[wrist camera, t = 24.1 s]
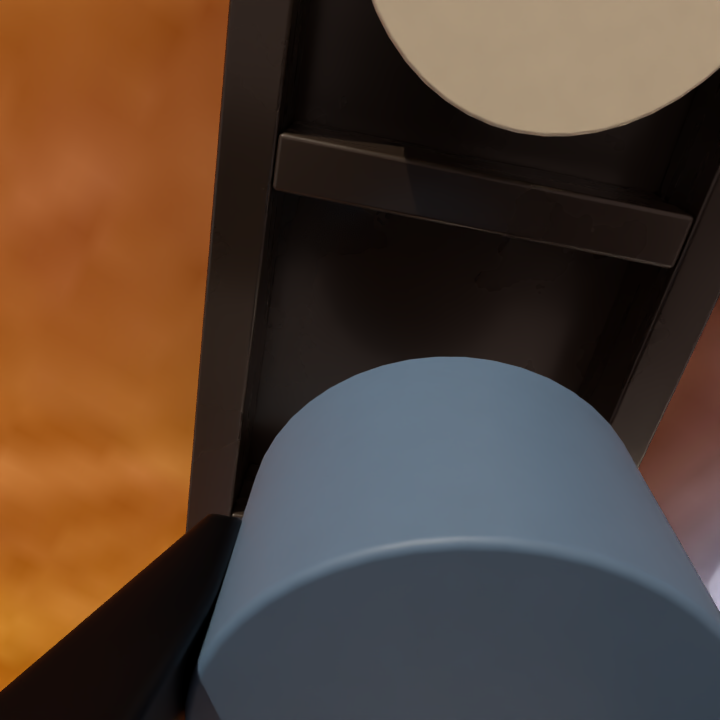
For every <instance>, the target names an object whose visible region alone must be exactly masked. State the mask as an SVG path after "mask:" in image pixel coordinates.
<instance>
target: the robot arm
mask: <svg viewBox="0 0 720 720" xmlns="http://www.w3.org/2000/svg"><path fill="white" fill-rule="evenodd" d="M241 523H242V520H241V519H240V518H237V517H231V516H225V515H220V514H209V515H207V516H206V517H204V518H203V519H202V520H201V521H200V522H199V523H197V524H196V525H195V526H194V527H193V528H192V529H190V530H189V531H188V532H187V533H186V534H185V535H183V536H182V537H181V538H180V539H179V540H177V541H176V542H175V543H174V544H173V545H172V546H170V547H169V548H168V549H167V550H166V551H165V552H163V553H162V554H161V555H160V556H159V557H158V558H156V559H155V560H154V561H153V562H152V563H151V564H149V565H148V566H147V567H146V568H145V569H144V570H142V571H141V572H140V573H139V574H138V575H137V576H135V577H134V578H133V579H132V580H131V581H130V582H128V583H127V584H126V585H125V586H124V587H123V588H121V589H120V590H119V591H118V592H117V593H115V594H114V595H113V596H112V597H111V598H110V599H108V600H107V601H106V602H105V603H104V604H103V605H101V606H100V607H99V608H98V609H97V610H96V611H94V612H93V613H92V614H91V615H90V616H89V617H87V618H86V619H85V620H84V621H83V622H82V623H80V624H79V625H78V626H77V627H76V628H75V629H73V630H72V631H71V632H70V633H69V634H68V635H66V636H65V637H64V638H63V639H62V640H60V641H59V642H58V643H57V644H56V645H55V646H53V647H52V648H51V649H50V650H49V651H48V652H46V653H45V654H44V655H43V656H42V657H41V658H39V659H38V660H37V661H36V662H35V663H34V664H32V665H31V666H30V667H29V668H28V669H27V670H25V671H24V672H23V673H22V674H21V675H20V676H18V677H17V678H16V679H15V680H14V681H13V682H11V683H10V684H9V685H8V686H7V687H5V688H4V689H3V690H2V691H1V692H0V720H185V701H186V696H187V691H188V686H189V681H190V678H191V675H192V672H193V669H194V665H195V662H196V659H197V656H198V653H199V650H200V647H201V645H202V642H203V639H204V636H205V633H206V630H207V628H208V625H209V622H210V619H211V616H212V613H213V610H214V607H215V604H216V601H217V598H218V595H219V592H220V589H221V586H222V583H223V580H224V577H225V574H226V571H227V568H228V565H229V561H230V558H231V555H232V552H233V549H234V546H235V543H236V540H237V536H238V533H239V530H240V527H241Z"/></svg>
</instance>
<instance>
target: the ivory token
mask: <svg viewBox="0 0 720 720" xmlns="http://www.w3.org/2000/svg"><path fill="white" fill-rule="evenodd" d="M372 3H373V5H374V8H375V11H376V13H377V15H378V17H379V19H380V21H381V23H382V25H383V27H384V29H385V31H386V32H387V34H388V36H389V38H390V40H391V41H392V43H393V44H394V46H395V47H396V49H397V50H398V52H399V53H400V54H401V56H402V57H403V59H404V60H405V62H406V63H407V64H408V65H409V66H410V68H411V69H412V70H413V71H414V72H415V73H416V74H417V75H418V76H419V78H420V79H421V80H422V81H423V82H424V83H425V84H426V85H427V86H428V87H430V88H431V89H432V90H433V91H434V92H436V93H437V94H438V95H439V96H440V97H441V98H443V99H444V100H445V101H446V102H448V103H450V104H451V105H453V106H454V107H456V108H458V109H459V110H461V111H462V112H464V113H465V114H467V115H469V116H471V117H473V118H476V119H478V120H480V121H482V122H485V123H487V124H489V125H491V126H495V127H498V128H502V129H505V130H509V131H512V132H516V133H522V134H529V135H536V136H576V135H583V134H590V133H598V132H601V131H605V130H609V129H612V128H616V127H620V126H623V125H626V124H629V123H631V122H634V121H636V120H639V119H641V118H643V117H646V116H648V115H651V114H653V113H655V112H657V111H658V110H660V109H662V108H664V107H666V106H667V105H669V104H671V103H673V102H675V101H677V100H678V99H680V98H681V97H683V96H684V95H686V94H687V93H688V92H690V91H691V90H693V89H694V88H695V87H697V86H698V85H700V84H701V83H703V82H704V81H705V80H706V79H708V78H709V77H710V76H711V75H712V74H713V73H714V72H716V71H717V70H718V69H719V68H720V0H372Z"/></svg>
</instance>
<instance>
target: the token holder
mask: <svg viewBox="0 0 720 720" xmlns="http://www.w3.org/2000/svg"><path fill="white" fill-rule="evenodd" d="M719 295H720V68H719V69H718V70H717V71H716V72H714V73H713V74H712V75H711V76H710V77H709V78H708V79H706V80H705V81H704V82H703V83H701V84H700V85H698V86H697V87H695V88H694V89H693V90H691V91H690V92H688V93H687V94H686V95H684V96H683V97H681V98H680V99H678V100H677V101H675V102H673V103H671V104H669V105H667V106H666V107H664V108H662V109H660V110H658V111H657V112H655V113H653V114H651V115H648V116H646V117H643V118H641V119H639V120H636V121H634V122H631V123H629V124H626V125H623V126H620V127H616V128H612V129H609V130H605V131H601V132H598V133H590V134H583V135H576V136H536V135H529V134H522V133H516V132H512V131H509V130H505V129H502V128H498V127H495V126H491V125H489V124H487V123H485V122H482V121H480V120H478V119H476V118H473V117H471V116H469V115H467V114H465V113H464V112H462V111H461V110H459V109H458V108H456V107H454V106H453V105H451V104H450V103H448V102H446V101H445V100H444V99H443V98H441V97H440V96H439V95H438V94H437V93H436V92H434V91H433V90H432V89H431V88H430V87H428V86H427V85H426V84H425V83H424V82H423V81H422V80H421V79H420V78H419V76H418V75H417V74H416V73H415V72H414V71H413V70H412V69H411V68H410V66H409V65H408V64H407V63H406V62H405V60H404V59H403V57H402V56H401V54H400V53H399V52H398V50H397V49H396V47H395V46H394V44H393V43H392V41H391V40H390V38H389V36H388V34H387V32H386V31H385V29H384V27H383V25H382V23H381V21H380V19H379V17H378V15H377V13H376V11H375V8H374V5H373V3H372V0H230V2H229V14H228V26H227V38H226V50H225V63H224V75H223V87H222V99H221V111H220V123H219V135H218V148H217V160H216V172H215V184H214V196H213V208H212V220H211V233H210V245H209V257H208V269H207V281H206V293H205V305H204V318H203V330H202V342H201V354H200V366H199V378H198V390H197V403H196V415H195V427H194V439H193V451H192V463H191V476H190V488H189V500H188V512H187V524H186V533H187V532H188V531H189V530H190V529H192V528H193V527H194V526H195V525H196V524H197V523H199V522H200V521H201V520H202V519H203V518H204V517H206V516H207V515H209V514H220V515H225V516H231V517H237V518H240V519H241V520H242V518H243V515H244V512H245V509H246V505H247V502H248V499H249V496H250V493H251V490H252V487H253V484H254V481H255V478H256V475H257V472H258V470H259V467H260V465H261V462H262V460H263V458H264V455H265V454H266V452H267V450H268V449H269V447H270V445H271V444H272V442H273V440H274V439H275V437H276V436H277V435H278V433H279V432H280V431H281V430H282V429H283V427H284V426H285V425H286V424H287V423H288V421H289V420H290V419H291V418H292V417H293V416H294V415H295V414H296V413H298V412H299V411H300V410H301V409H302V408H303V407H304V406H305V405H306V404H308V403H309V402H310V401H312V400H313V399H315V398H316V397H317V396H319V395H320V394H322V393H323V392H325V391H326V390H328V389H329V388H331V387H333V386H335V385H337V384H339V383H341V382H343V381H345V380H347V379H349V378H351V377H353V376H355V375H357V374H360V373H363V372H366V371H368V370H371V369H374V368H377V367H379V366H383V365H387V364H392V363H396V362H401V361H405V360H410V359H420V358H429V357H469V358H477V359H485V360H493V361H497V362H501V363H505V364H509V365H513V366H517V367H521V368H524V369H526V370H529V371H531V372H534V373H537V374H539V375H542V376H544V377H547V378H549V379H551V380H553V381H554V382H556V383H558V384H560V385H562V386H564V387H565V388H567V389H569V390H571V391H572V392H574V393H575V394H576V395H578V396H579V397H580V398H582V399H583V400H584V401H586V402H587V403H588V404H590V405H591V406H592V407H593V408H594V409H595V410H596V411H597V412H598V413H599V414H600V415H601V416H602V417H603V418H604V419H605V420H606V421H607V422H608V423H609V424H610V425H611V427H612V428H613V429H614V431H615V432H616V433H617V435H618V436H619V438H620V439H621V440H622V442H623V443H624V445H625V447H626V449H627V450H628V452H629V454H630V456H631V457H632V459H633V461H634V463H635V464H636V466H637V468H639V466H640V463H641V461H642V459H643V457H644V455H645V453H646V451H647V449H648V446H649V444H650V442H651V440H652V438H653V436H654V434H655V432H656V429H657V427H658V425H659V423H660V421H661V419H662V417H663V414H664V412H665V410H666V408H667V406H668V404H669V402H670V400H671V397H672V395H673V393H674V391H675V389H676V387H677V385H678V383H679V380H680V378H681V376H682V374H683V372H684V370H685V368H686V366H687V363H688V361H689V359H690V357H691V355H692V353H693V351H694V349H695V346H696V344H697V342H698V340H699V338H700V336H701V334H702V331H703V329H704V327H705V325H706V323H707V321H708V319H709V317H710V314H711V312H712V310H713V308H714V306H715V304H716V302H717V300H718V297H719Z"/></svg>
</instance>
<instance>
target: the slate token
mask: <svg viewBox="0 0 720 720" xmlns="http://www.w3.org/2000/svg"><path fill="white" fill-rule="evenodd" d="M185 720H720V612H719V610H718V608H717V606H716V605H715V603H714V601H713V599H712V598H711V596H710V594H709V592H708V591H707V589H706V587H705V585H704V584H703V582H702V580H701V578H700V576H699V575H698V573H697V571H696V569H695V568H694V566H693V564H692V562H691V561H690V559H689V557H688V555H687V554H686V552H685V550H684V548H683V547H682V545H681V543H680V541H679V540H678V538H677V536H676V534H675V533H674V531H673V529H672V527H671V526H670V524H669V522H668V520H667V519H666V517H665V515H664V513H663V512H662V510H661V508H660V506H659V505H658V503H657V501H656V499H655V498H654V496H653V494H652V492H651V491H650V489H649V487H648V485H647V484H646V482H645V480H644V478H643V477H642V475H641V473H640V471H639V470H638V468H637V466H636V464H635V463H634V461H633V459H632V457H631V456H630V454H629V452H628V450H627V449H626V447H625V445H624V443H623V442H622V440H621V439H620V438H619V436H618V435H617V433H616V432H615V431H614V429H613V428H612V427H611V425H610V424H609V423H608V422H607V421H606V420H605V419H604V418H603V417H602V416H601V415H600V414H599V413H598V412H597V411H596V410H595V409H594V408H593V407H592V406H591V405H590V404H588V403H587V402H586V401H584V400H583V399H582V398H580V397H579V396H578V395H576V394H575V393H574V392H572V391H571V390H569V389H567V388H565V387H564V386H562V385H560V384H558V383H556V382H554V381H553V380H551V379H549V378H547V377H544V376H542V375H539V374H537V373H534V372H531V371H529V370H526V369H524V368H521V367H517V366H513V365H509V364H505V363H501V362H497V361H493V360H485V359H477V358H469V357H429V358H420V359H410V360H405V361H401V362H396V363H392V364H387V365H383V366H379V367H377V368H374V369H371V370H368V371H366V372H363V373H360V374H357V375H355V376H353V377H351V378H349V379H347V380H345V381H343V382H341V383H339V384H337V385H335V386H333V387H331V388H329V389H328V390H326V391H325V392H323V393H322V394H320V395H319V396H317V397H316V398H315V399H313V400H312V401H310V402H309V403H308V404H306V405H305V406H304V407H303V408H302V409H301V410H300V411H299V412H298V413H296V414H295V415H294V416H293V417H292V418H291V419H290V420H289V421H288V423H287V424H286V425H285V426H284V427H283V429H282V430H281V431H280V432H279V433H278V435H277V436H276V437H275V439H274V440H273V442H272V444H271V445H270V447H269V449H268V450H267V452H266V454H265V455H264V458H263V460H262V462H261V465H260V467H259V470H258V472H257V475H256V478H255V481H254V484H253V487H252V490H251V493H250V496H249V499H248V502H247V505H246V509H245V512H244V515H243V518H242V523H241V527H240V530H239V533H238V536H237V540H236V543H235V546H234V549H233V552H232V555H231V558H230V561H229V565H228V568H227V571H226V574H225V577H224V580H223V583H222V586H221V589H220V592H219V595H218V598H217V601H216V604H215V607H214V610H213V613H212V616H211V619H210V622H209V625H208V628H207V630H206V633H205V636H204V639H203V642H202V645H201V647H200V650H199V653H198V656H197V659H196V662H195V665H194V669H193V672H192V675H191V678H190V681H189V686H188V691H187V696H186V701H185Z"/></svg>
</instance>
